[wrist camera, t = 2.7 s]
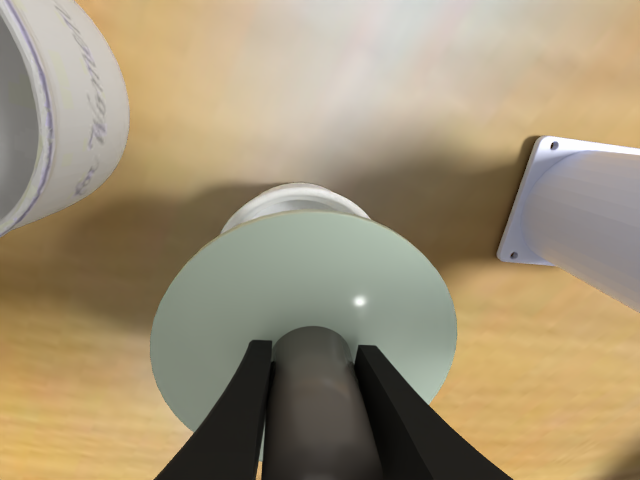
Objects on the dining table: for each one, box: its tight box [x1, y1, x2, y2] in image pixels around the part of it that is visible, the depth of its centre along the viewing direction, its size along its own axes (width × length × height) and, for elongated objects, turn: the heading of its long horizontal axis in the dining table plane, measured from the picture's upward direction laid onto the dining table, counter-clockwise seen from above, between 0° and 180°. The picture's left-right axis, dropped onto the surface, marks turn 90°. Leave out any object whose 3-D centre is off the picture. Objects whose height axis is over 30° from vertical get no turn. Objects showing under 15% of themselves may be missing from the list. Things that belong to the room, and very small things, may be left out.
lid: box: [150, 209, 457, 480], centre depth 10 cm, size 10×10×5 cm
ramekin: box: [220, 183, 370, 234], centre depth 18 cm, size 9×9×4 cm
